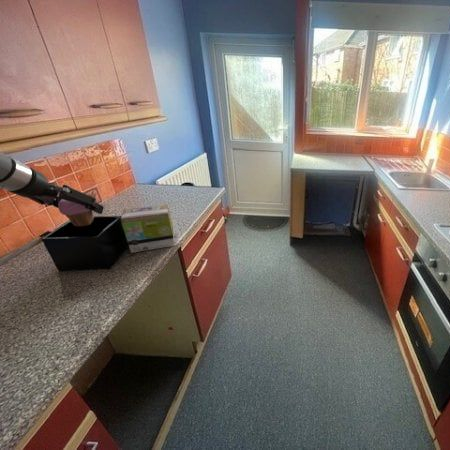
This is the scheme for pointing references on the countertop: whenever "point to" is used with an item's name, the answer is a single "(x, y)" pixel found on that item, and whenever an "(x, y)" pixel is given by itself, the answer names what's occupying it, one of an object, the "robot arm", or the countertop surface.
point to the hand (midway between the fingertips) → (87, 209)
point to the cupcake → (76, 213)
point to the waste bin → (87, 244)
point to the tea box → (148, 227)
